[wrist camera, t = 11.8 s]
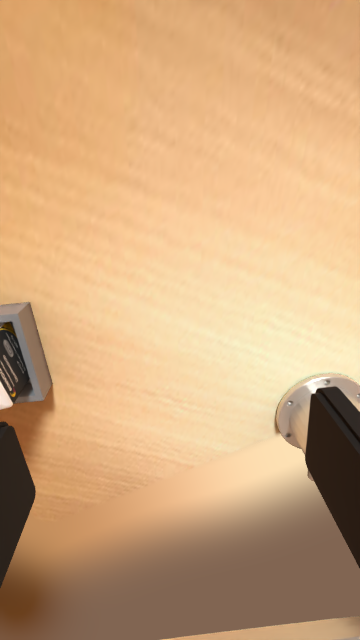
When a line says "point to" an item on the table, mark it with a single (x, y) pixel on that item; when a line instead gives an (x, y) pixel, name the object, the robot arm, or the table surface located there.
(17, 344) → the medicine bottle
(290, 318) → the table surface
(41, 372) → the bin
